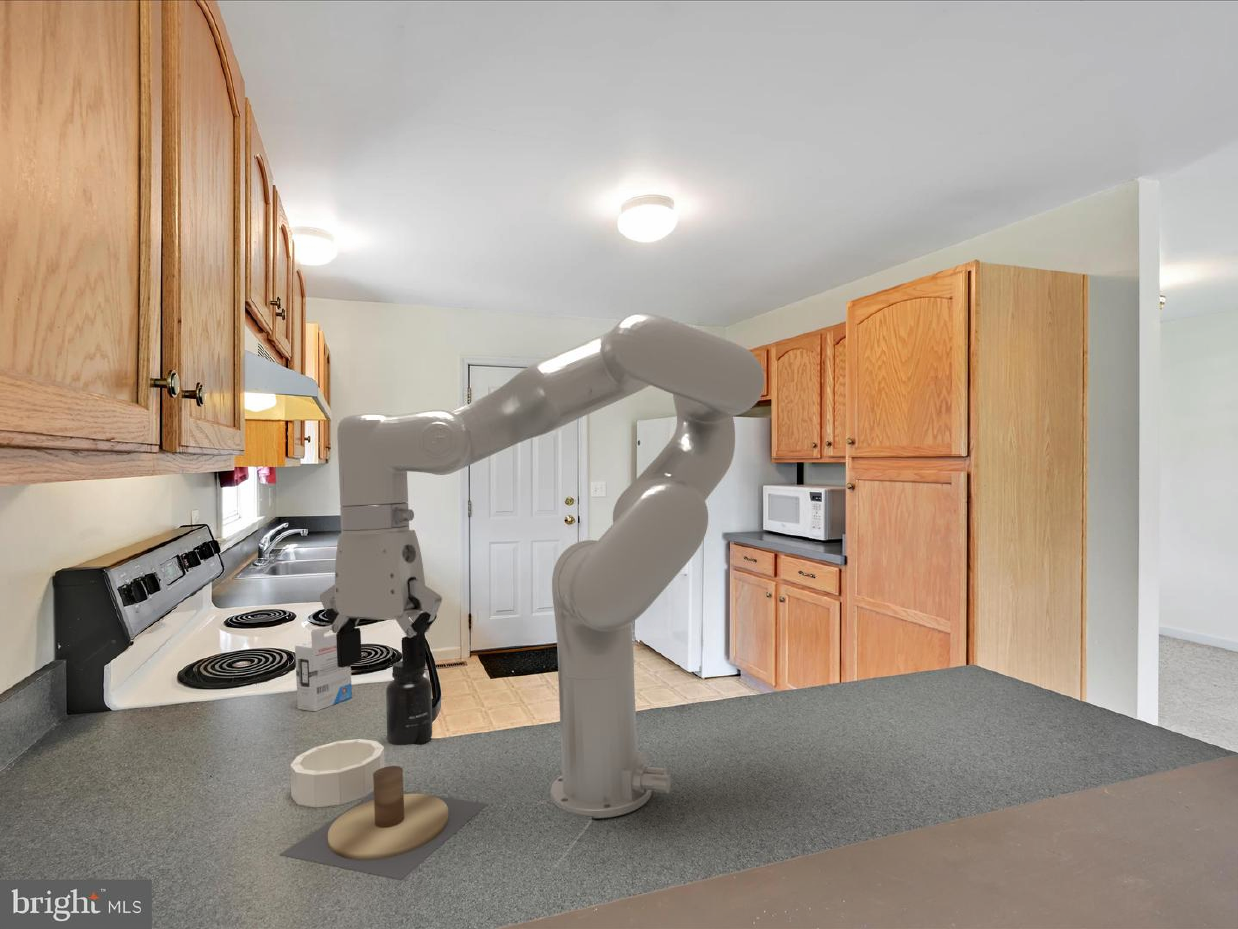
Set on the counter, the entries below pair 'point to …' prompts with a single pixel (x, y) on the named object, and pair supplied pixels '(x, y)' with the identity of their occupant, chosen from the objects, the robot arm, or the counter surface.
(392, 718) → the supplement bottle
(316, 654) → the ink box
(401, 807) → the lid
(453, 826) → the mat
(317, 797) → the bowl
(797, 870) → the counter surface
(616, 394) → the robot arm
